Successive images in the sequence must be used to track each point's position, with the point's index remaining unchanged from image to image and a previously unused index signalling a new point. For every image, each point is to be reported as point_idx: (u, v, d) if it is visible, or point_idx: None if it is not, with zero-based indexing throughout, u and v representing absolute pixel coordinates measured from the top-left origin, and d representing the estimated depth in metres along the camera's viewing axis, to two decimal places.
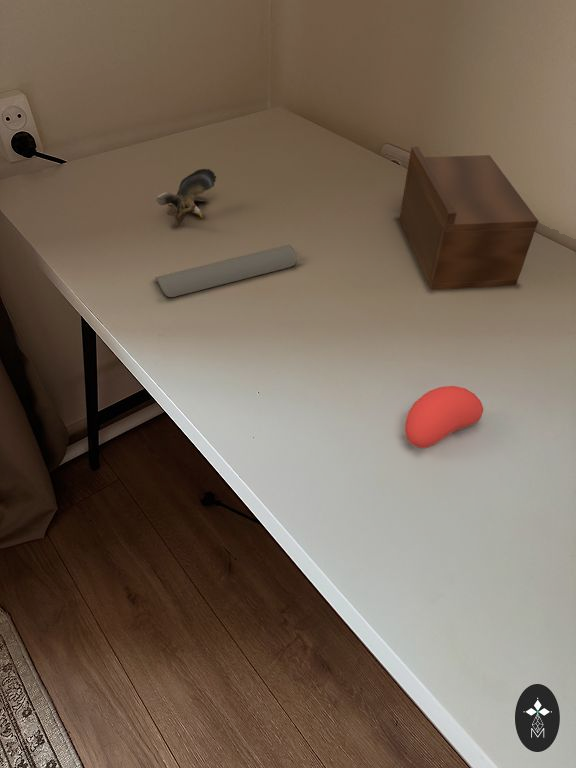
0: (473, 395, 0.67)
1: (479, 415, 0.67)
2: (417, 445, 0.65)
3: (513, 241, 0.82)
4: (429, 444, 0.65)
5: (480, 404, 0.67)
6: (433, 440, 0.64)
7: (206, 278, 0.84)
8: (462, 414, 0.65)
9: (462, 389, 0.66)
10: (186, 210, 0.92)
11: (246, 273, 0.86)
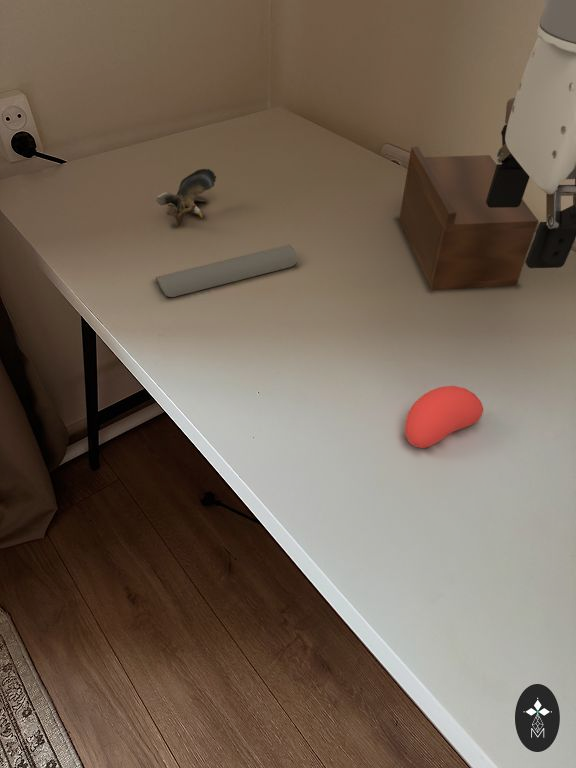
0: (473, 395, 0.67)
1: (479, 415, 0.67)
2: (417, 445, 0.65)
3: (513, 241, 0.82)
4: (429, 444, 0.65)
5: (480, 404, 0.67)
6: (433, 440, 0.64)
7: (206, 278, 0.84)
8: (462, 414, 0.65)
9: (462, 389, 0.66)
10: (186, 210, 0.92)
11: (246, 273, 0.86)
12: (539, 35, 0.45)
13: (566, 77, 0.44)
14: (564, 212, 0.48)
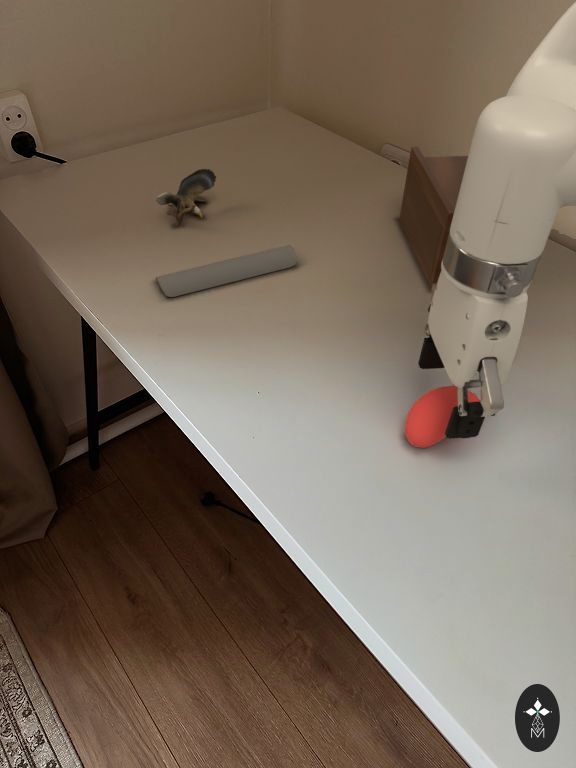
0: (473, 395, 0.67)
1: None
2: (417, 445, 0.65)
3: None
4: (429, 444, 0.65)
5: None
6: (433, 440, 0.64)
7: (206, 278, 0.84)
8: None
9: None
10: (186, 210, 0.92)
11: (246, 273, 0.86)
12: (442, 269, 0.54)
13: (464, 307, 0.53)
14: (470, 405, 0.57)
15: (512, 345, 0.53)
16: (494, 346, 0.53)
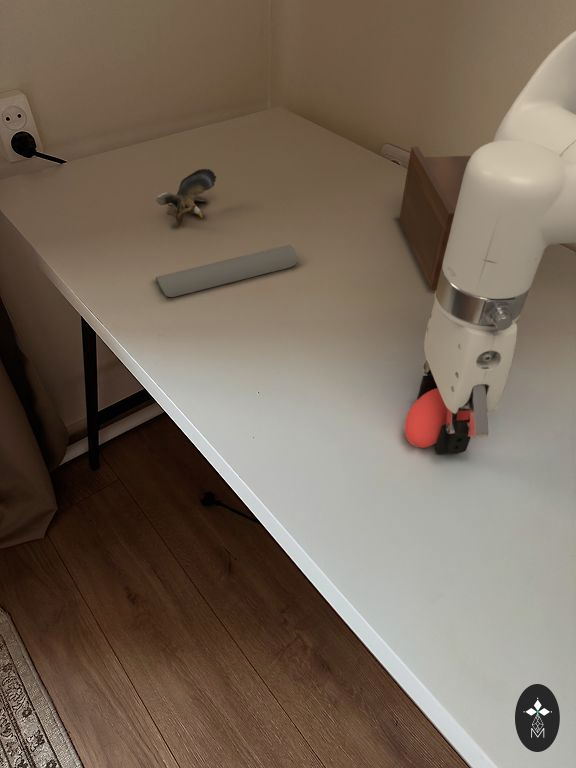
0: None
1: None
2: (417, 445, 0.65)
3: None
4: (429, 444, 0.65)
5: None
6: (433, 440, 0.64)
7: (206, 278, 0.84)
8: (462, 414, 0.65)
9: None
10: (186, 210, 0.92)
11: (246, 273, 0.86)
12: (435, 301, 0.56)
13: (456, 338, 0.55)
14: (457, 424, 0.61)
15: (503, 373, 0.56)
16: (486, 374, 0.56)
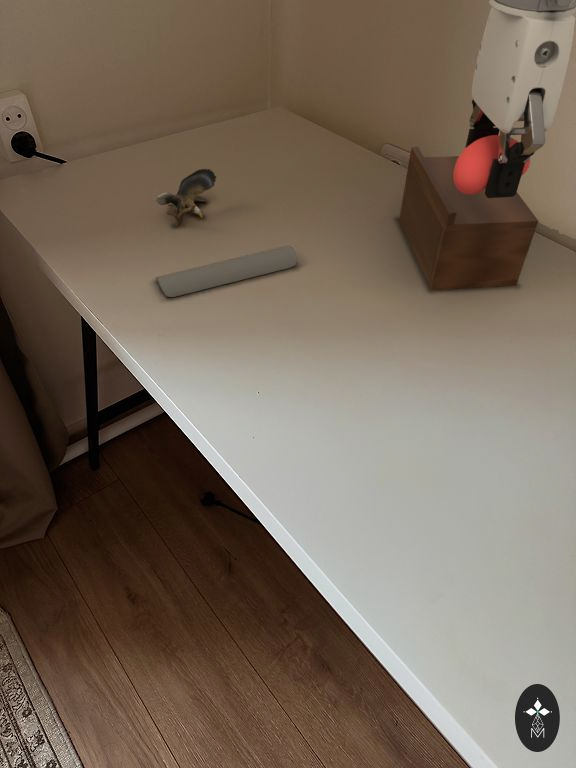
0: None
1: (527, 164, 0.67)
2: (467, 188, 0.65)
3: (513, 241, 0.82)
4: (479, 186, 0.65)
5: None
6: (483, 180, 0.64)
7: (206, 278, 0.84)
8: None
9: None
10: (186, 210, 0.92)
11: (246, 273, 0.86)
12: (490, 4, 0.56)
13: (513, 36, 0.55)
14: (510, 149, 0.61)
15: (560, 74, 0.56)
16: (543, 74, 0.56)
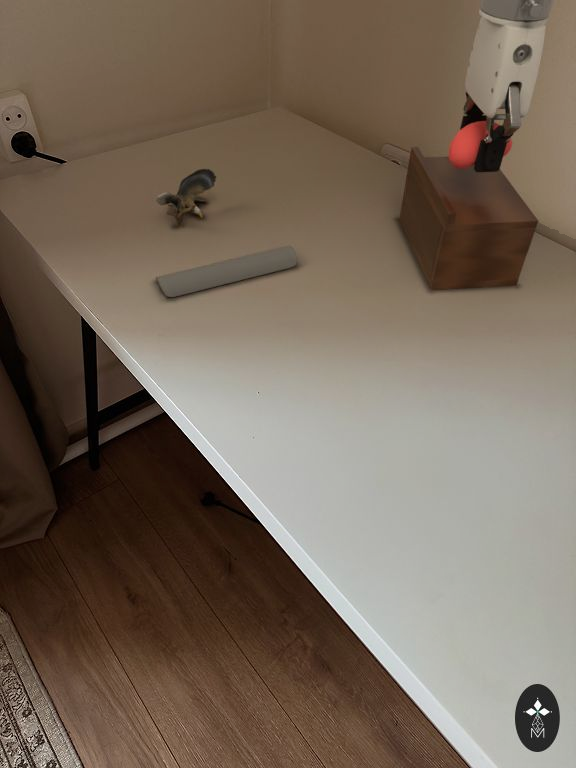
0: None
1: (509, 145, 0.81)
2: (459, 164, 0.79)
3: (513, 241, 0.82)
4: (469, 162, 0.79)
5: None
6: (472, 157, 0.79)
7: (206, 278, 0.84)
8: None
9: (495, 123, 0.81)
10: (186, 210, 0.92)
11: (246, 273, 0.86)
12: (479, 14, 0.70)
13: (497, 40, 0.70)
14: (494, 131, 0.75)
15: (533, 71, 0.70)
16: (520, 70, 0.70)
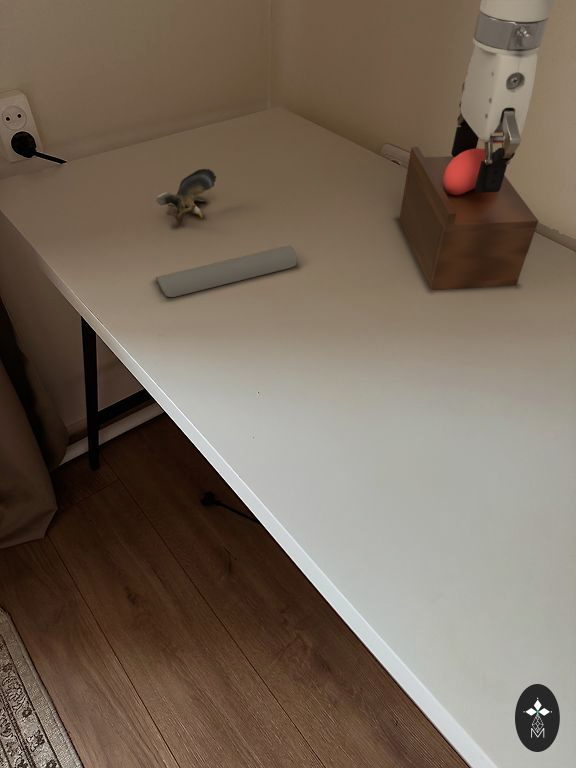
0: None
1: None
2: (453, 190, 0.82)
3: (513, 241, 0.82)
4: (463, 188, 0.82)
5: None
6: (466, 184, 0.81)
7: (206, 278, 0.84)
8: None
9: None
10: (186, 210, 0.92)
11: (246, 273, 0.86)
12: (473, 42, 0.73)
13: (490, 68, 0.72)
14: (495, 153, 0.76)
15: (526, 97, 0.72)
16: (513, 97, 0.72)
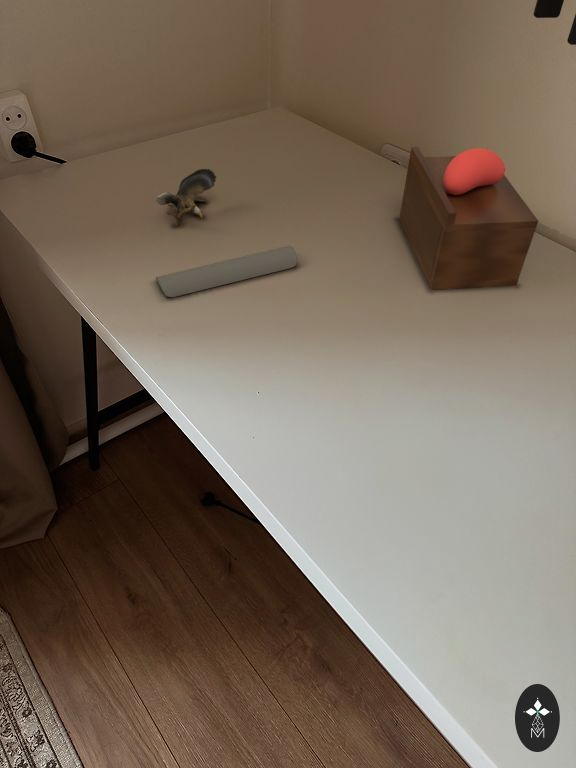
0: (497, 155, 0.84)
1: (502, 172, 0.84)
2: (453, 190, 0.82)
3: (513, 241, 0.82)
4: (463, 188, 0.82)
5: (503, 163, 0.84)
6: (466, 184, 0.81)
7: (206, 278, 0.84)
8: (489, 165, 0.82)
9: (489, 150, 0.83)
10: (186, 210, 0.92)
11: (246, 274, 0.86)
12: None
13: None
14: None
15: None
16: None
